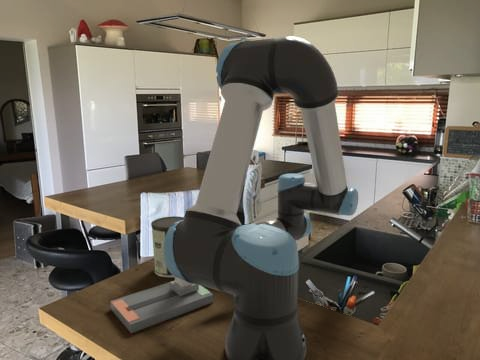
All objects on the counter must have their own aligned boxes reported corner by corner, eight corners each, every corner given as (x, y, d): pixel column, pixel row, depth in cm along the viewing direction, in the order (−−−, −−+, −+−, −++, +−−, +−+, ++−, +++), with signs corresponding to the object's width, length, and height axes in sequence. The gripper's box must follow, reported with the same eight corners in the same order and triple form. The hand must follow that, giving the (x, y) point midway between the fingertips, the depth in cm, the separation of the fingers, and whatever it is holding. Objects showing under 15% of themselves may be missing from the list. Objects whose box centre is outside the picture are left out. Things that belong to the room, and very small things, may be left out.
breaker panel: (213, 302, 91) (213, 294, 91) (131, 333, 80) (130, 324, 79) (187, 283, 101) (187, 276, 100) (110, 309, 89) (110, 300, 88)
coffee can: (196, 263, 113) (194, 216, 110) (184, 279, 103) (181, 228, 100) (162, 261, 115) (160, 215, 112) (148, 276, 105) (144, 226, 102)
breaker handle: (198, 289, 93) (197, 243, 90) (180, 296, 90) (177, 248, 87) (188, 282, 96) (186, 237, 94) (170, 288, 94) (167, 242, 91)
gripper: (298, 262, 98) (230, 288, 86) (238, 236, 118) (175, 253, 105) (298, 234, 97) (229, 256, 84) (237, 212, 116) (174, 227, 103)
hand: (199, 254), depth 94 cm, fingers open, 13 cm apart
